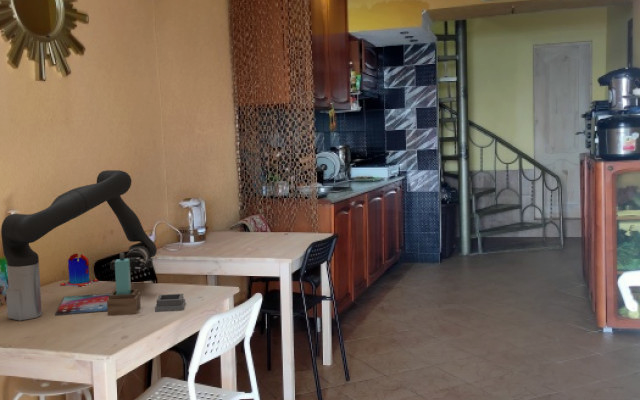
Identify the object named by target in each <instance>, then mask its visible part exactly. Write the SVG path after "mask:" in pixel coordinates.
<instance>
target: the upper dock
mask: <svg viewBox="0 0 640 400" xmlns="http://www.w3.org/2000/svg"><path fill="white" fill-rule="evenodd" d="M110 293H111V294H110V295H109V298H108V300H107V309H108V312H107V316H118V315H119V316H121V315H136V314H137V313H138V312H139V310H140V308H141V305H142V304H141V292H140V291H139V289H138V288H133V289H132V288H131V294H126V295H116V289H113V290H112V291H111V292H110Z"/></svg>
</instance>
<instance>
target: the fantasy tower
mask: <svg viewBox="0 0 640 400" xmlns="http://www.w3.org/2000/svg"><path fill="white" fill-rule="evenodd" d="M67 263H68V264H67V269H68V279H69V280H68V281H67V282H61V283H60V284H59V286H60V287H66V286H68V287H77V286H78V287H77V288H83V287H82V286H86V287H87V285H85V284H88V285H90V284H89V283H91V284H93V283H97V282H99V281H100V280H98V279H97V278H93V279H92V280H91V279H90V269H89V266H90V262H89V258H87V257H86V256H85V255H84V254H80V257H79V253H73V254H72V255H70V256H69V257H68V259H67Z"/></svg>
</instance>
